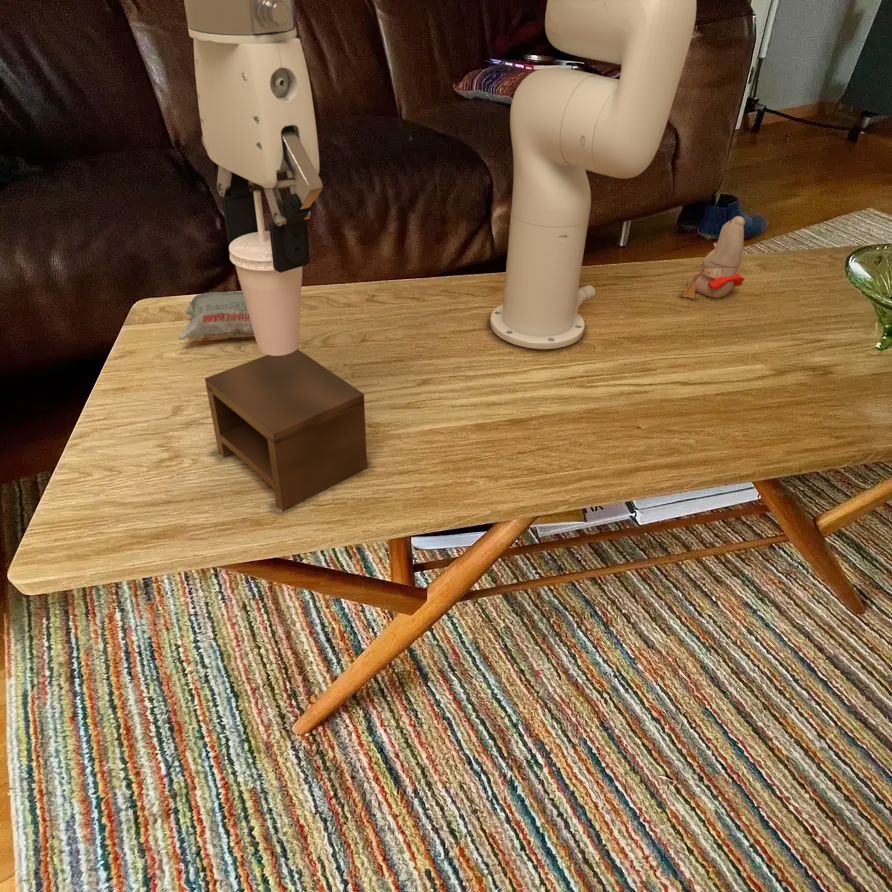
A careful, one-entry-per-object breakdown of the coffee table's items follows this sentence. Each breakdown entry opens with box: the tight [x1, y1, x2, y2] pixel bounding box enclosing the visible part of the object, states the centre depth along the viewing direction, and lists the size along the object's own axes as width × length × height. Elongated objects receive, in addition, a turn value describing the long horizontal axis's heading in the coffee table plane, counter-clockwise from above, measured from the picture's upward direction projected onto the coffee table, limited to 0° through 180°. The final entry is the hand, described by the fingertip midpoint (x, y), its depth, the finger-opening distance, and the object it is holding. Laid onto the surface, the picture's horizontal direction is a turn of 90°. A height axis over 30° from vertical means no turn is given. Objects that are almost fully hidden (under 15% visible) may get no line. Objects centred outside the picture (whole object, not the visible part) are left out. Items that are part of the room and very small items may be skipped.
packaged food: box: [178, 290, 255, 342], centre depth 97 cm, size 9×12×5 cm
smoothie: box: [228, 189, 303, 356], centre depth 65 cm, size 6×6×14 cm
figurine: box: [681, 215, 746, 300], centre depth 109 cm, size 9×7×12 cm
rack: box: [204, 348, 368, 512], centre depth 75 cm, size 10×12×9 cm
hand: (268, 251), depth 64 cm, fingers closed on smoothie, 6 cm apart
